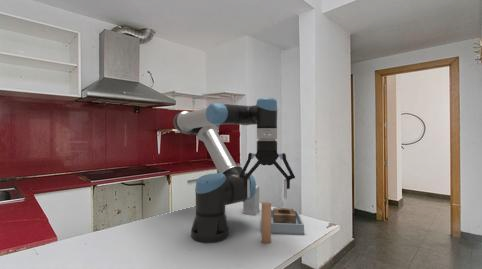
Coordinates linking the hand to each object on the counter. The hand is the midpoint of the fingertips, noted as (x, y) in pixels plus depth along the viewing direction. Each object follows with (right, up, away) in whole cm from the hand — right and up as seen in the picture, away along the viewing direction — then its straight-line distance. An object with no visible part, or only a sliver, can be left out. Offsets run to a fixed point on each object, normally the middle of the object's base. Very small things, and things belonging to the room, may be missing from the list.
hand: (266, 197), depth 89 cm
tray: (+8, -16, +15) cm, 24 cm away
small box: (-4, -16, +33) cm, 37 cm away
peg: (0, -17, 0) cm, 17 cm away
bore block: (+9, -16, +16) cm, 24 cm away
